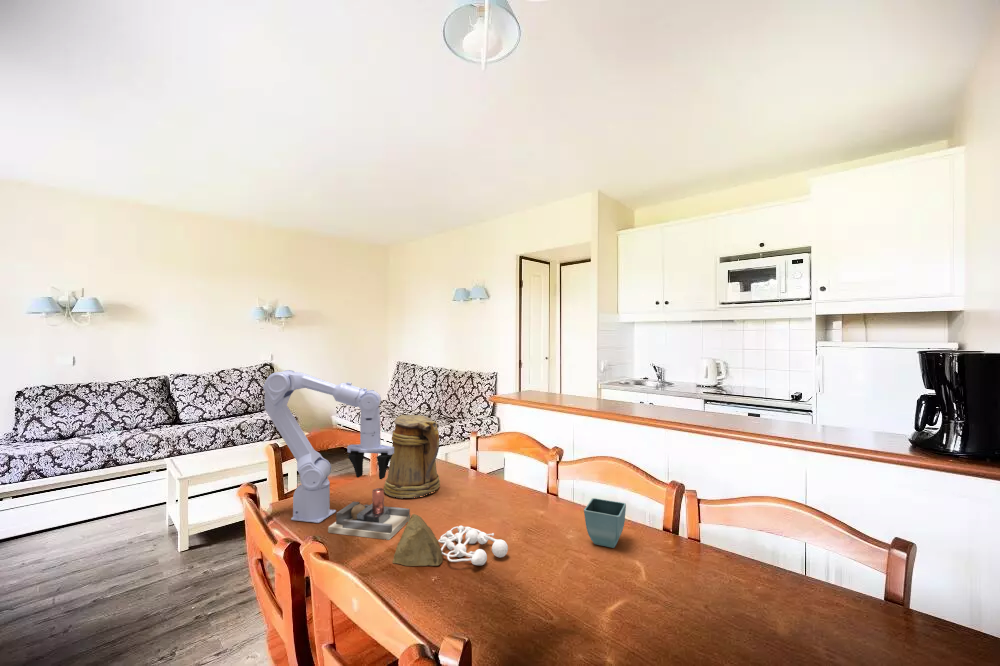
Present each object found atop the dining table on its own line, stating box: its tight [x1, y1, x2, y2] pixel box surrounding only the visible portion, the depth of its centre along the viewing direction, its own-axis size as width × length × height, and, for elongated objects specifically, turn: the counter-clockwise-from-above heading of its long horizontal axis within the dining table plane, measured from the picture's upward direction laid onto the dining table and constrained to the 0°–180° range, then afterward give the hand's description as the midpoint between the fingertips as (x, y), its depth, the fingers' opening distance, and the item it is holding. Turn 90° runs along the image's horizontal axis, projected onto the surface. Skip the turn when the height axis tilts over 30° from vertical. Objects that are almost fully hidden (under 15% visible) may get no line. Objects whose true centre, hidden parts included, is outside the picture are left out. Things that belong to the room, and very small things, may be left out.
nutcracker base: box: [327, 501, 411, 541], centre depth 112 cm, size 18×12×4 cm, turn 76°
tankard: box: [383, 414, 441, 499], centre depth 138 cm, size 18×24×25 cm
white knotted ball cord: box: [437, 525, 509, 566], centre depth 99 cm, size 19×14×4 cm
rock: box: [392, 513, 444, 567], centre depth 93 cm, size 11×9×10 cm
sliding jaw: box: [357, 487, 390, 523], centre depth 111 cm, size 6×8×8 cm
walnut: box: [351, 503, 365, 520], centre depth 112 cm, size 4×4×4 cm
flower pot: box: [583, 497, 627, 549], centre depth 102 cm, size 9×9×9 cm
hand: (370, 477), depth 121 cm, fingers open, 7 cm apart
